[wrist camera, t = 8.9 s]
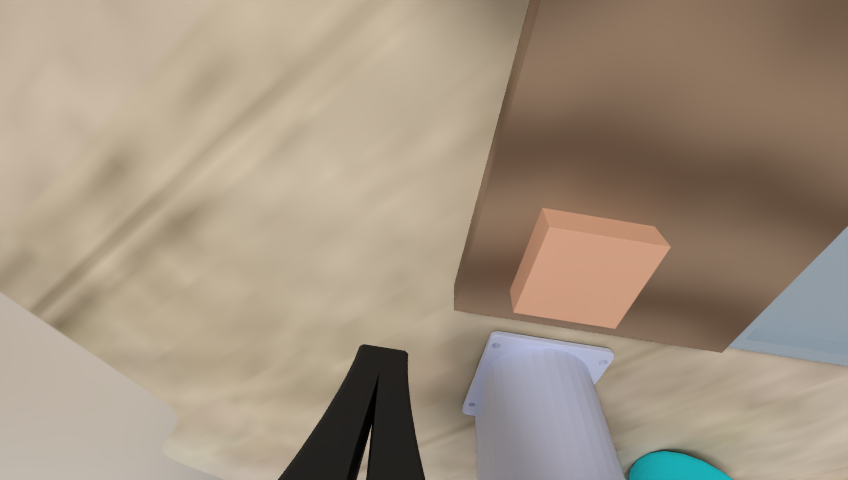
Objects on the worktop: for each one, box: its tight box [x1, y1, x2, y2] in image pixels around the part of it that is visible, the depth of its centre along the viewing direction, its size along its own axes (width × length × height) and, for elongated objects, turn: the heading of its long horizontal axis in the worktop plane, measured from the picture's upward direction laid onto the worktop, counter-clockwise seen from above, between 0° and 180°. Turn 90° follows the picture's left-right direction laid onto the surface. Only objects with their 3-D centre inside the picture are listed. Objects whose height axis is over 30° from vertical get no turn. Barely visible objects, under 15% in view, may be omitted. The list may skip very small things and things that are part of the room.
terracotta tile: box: [510, 208, 671, 329], centre depth 17 cm, size 5×5×2 cm
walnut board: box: [454, 0, 848, 353], centre depth 16 cm, size 18×15×2 cm
